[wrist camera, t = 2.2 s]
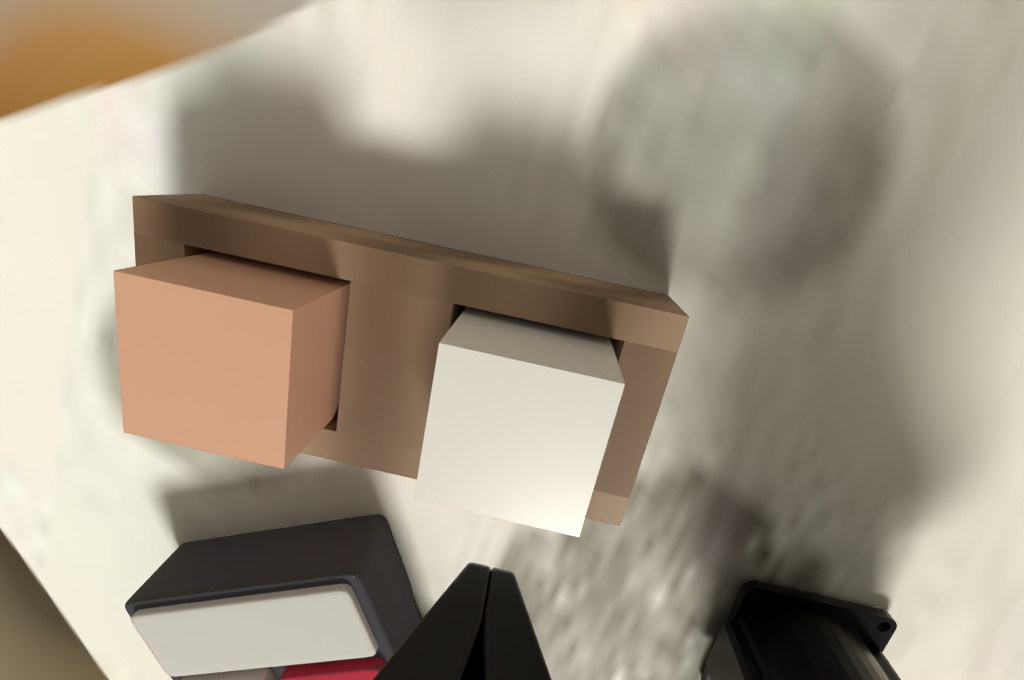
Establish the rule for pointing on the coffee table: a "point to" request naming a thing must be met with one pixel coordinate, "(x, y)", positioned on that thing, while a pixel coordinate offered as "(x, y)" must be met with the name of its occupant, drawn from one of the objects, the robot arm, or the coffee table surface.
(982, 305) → the coffee table surface
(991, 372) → the coffee table surface
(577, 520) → the cream key
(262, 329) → the tan wooden block
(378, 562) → the calculator
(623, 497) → the key panel
